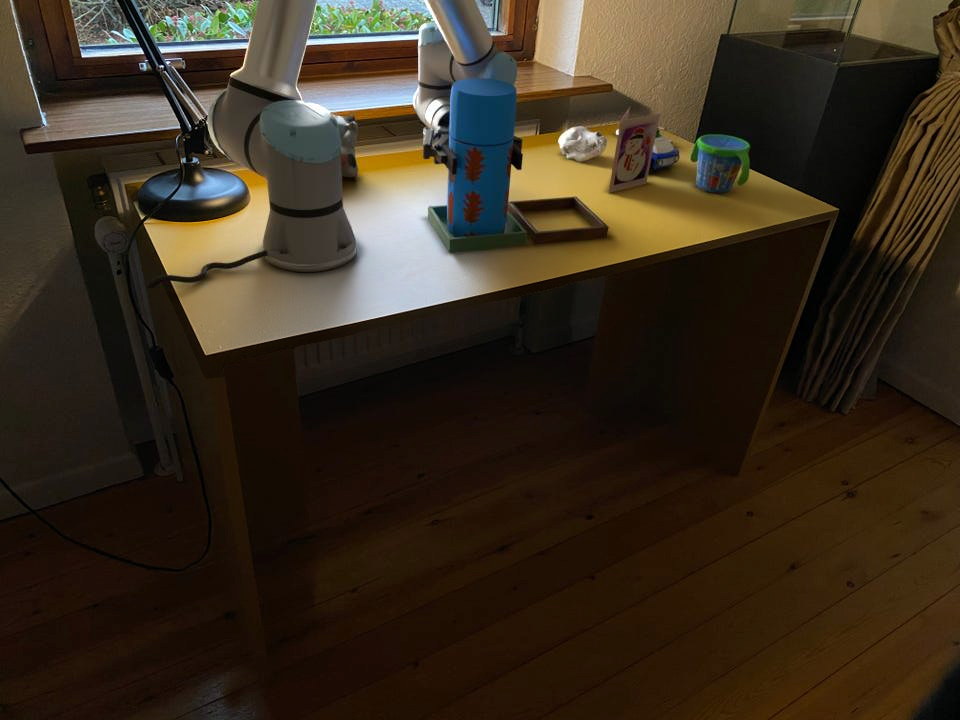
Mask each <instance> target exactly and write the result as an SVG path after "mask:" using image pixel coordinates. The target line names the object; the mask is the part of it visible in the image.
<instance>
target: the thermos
mask: <svg viewBox="0 0 960 720" xmlns="http://www.w3.org/2000/svg"><path fill="white" fill-rule="evenodd" d="M517 101H518V96H517V88H516V86H515V85H514V86H513V85H512V84H510V83H507V82H503V81H499V80H493V79H482V78H475V79H464V80H459V81H456V82H454V83H453V84H452V89H451V97H450V128H449V132H450V133H449V149H450V150H451V152H452V153H453V154H454V155H455V156H456V158H457V174H453V175H452V174H451V172H450V171H449V170H448V169H447V192H446V193H447V195H446V201H447V202H446V205H447V224H448V230H449V232H451V233H452V234H453V235H454V236H457V237H467V236H478V235H489V234H500V233H504V231H505V225H506V218H507V211H508V202H509V199H510V198H509V197H510V187H511V174H512V164H511V163H512V151H513V139H514V138H513V137H514V136H515V126H516V125H515V124H516V115H517V114H516V113H517Z"/></svg>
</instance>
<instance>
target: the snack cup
mask: <svg viewBox="0 0 960 720" xmlns="http://www.w3.org/2000/svg"><path fill="white" fill-rule="evenodd" d="M750 149H751V145H750V143H749V142H748V141H746V140H745V139H743V138H739V137H736V136H732V135H727V134H719V133H718V134H713V133H712V134H704V135H702V136H700V137H699V138H698V139H697V140H696V142H695V143H694V145H693V148H692V149H691V152H690V157H689V158H690V161H691V162H692V163H697V167H696V187H698V188H699V189H701V190H703V191H706V192H708V193H714V194H726V193H728V192H730V191H731V190H732V189H733V187H734V184H735V182H736V185H738V186H742V185H744V184H746V183H747V182H748V180H749V177H750V167H751V166H750V165H751V163H750V156H749V152H750ZM739 173H740V174H739ZM736 180H737V181H736Z"/></svg>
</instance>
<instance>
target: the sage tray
mask: <svg viewBox="0 0 960 720" xmlns="http://www.w3.org/2000/svg"><path fill="white" fill-rule="evenodd" d="M427 220H428V221H429V223H430V224H431V227H432V228H433V229H434V231H435V232H436V234H437V235H438V237H439V239H440V240H441V243H443V245H444V246H445V248H446V249H447V251H448V253H458V252H460V253H461V252H471V251H479V250H490V249H491V250H492V249H499V248H500V249H502V248H513V247H520V246H521V247H522V246H526V245H527V238H528V236H527V232H526V231H525V230H524V228H523V227H522V226H521V225H520V224H519V223H518V221H517V220H516V219H515V218H514V217H513V216H512V214H511V213H510V212H509V211H507V218H506V225H505V231H504V233H500V234H489V235H478V236H467V237H457V236H454V235H453V234H452V233H451V232H449V230H448V224H447V204H444V205H429V206H428V207H427Z"/></svg>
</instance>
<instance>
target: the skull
mask: <svg viewBox="0 0 960 720" xmlns="http://www.w3.org/2000/svg"><path fill="white" fill-rule="evenodd" d="M557 143H558V144H559V149H560V151H561V154H562V156H565V155H566V156H565V158H566V159H574V160H575V161H576V162H579V163H582V162H585V161H587V160H590V159H592V158H596V157H599V156H600V155H602V154H603V153H604V152H605V150H606V148H607V145H608V138H606V136H604V135H603V134H602V133H601V132H600V131H595V132H592V131H590V130H589V129H588V127H586V126H582V125H580V126H579V125H578V126H573V127H571V128H569V129H567V130H565V131H564V132H563V133H562V134H561V135H560V136H559V138H558V140H557Z"/></svg>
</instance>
